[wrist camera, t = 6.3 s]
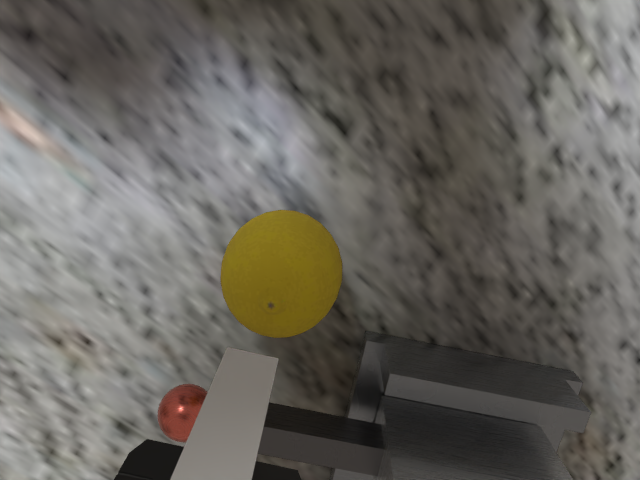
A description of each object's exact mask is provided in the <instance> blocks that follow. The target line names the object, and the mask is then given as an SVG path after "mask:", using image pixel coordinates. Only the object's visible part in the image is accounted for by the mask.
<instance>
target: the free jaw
mask: <svg viewBox="0 0 640 480" xmlns="http://www.w3.org/2000/svg"><path fill="white" fill-rule="evenodd" d="M207 393H208V392H207V391H206V390H205V389H203V388H202V387H200V386H197V385H194V384H183V385H179V386H177V387H175V388H173V389H171V390H170V391H169V392H168V393H167V394H166V395H165V396H164V397H163V399H162V401H161V403H160V405H159V408H158V422H159V426H160V428H161V430H162V431H163V433H164V434H165V435H166V436H167V437H169V438H170V439H172V440H174V441H178V442H187V439H188V437H189V435H190V432H191V430H192V428H193V425H194V423H195V421H196V418H197V416H198V414H199V411H200V409H201V407H202V404H203V402H204V400H205V397H206V395H207ZM257 454H263V455H268V456H273V457H278V458H284V459H289V460H294V461H299V462H305V463H310V464H315V465H320V466H326V467H331V468H336V469H341V470H347V471H352V472H357V473H362V474H368V475H373V480H573V479H572V477H571V476H570V474H569V472H568V471H567V469H566V467H565V466H564V464H563V462H562V461H561V459H560V457H559V456H558V454H557V453H556V451H555V449H554V448H553V446H552V444H551V443H550V441H549V439H548V438H547V436H546V434H545V433H544V431H543V429H542V428H541V426H537V425H532V424H527V423H522V422H516V421H511V420H506V419H501V418H496V417H491V416H485V415H480V414H475V413H470V412H465V411H460V410H454V409H449V408H444V407H439V406H434V405H428V404H423V403H418V402H413V401H408V400H403V399H397V398H392V397H387V396H382V397H381V401H380V404H379V408H378V412H377V416H376V420H375V423H373V422H367V421H362V420H357V419H352V418H347V417H341V416H336V415H331V414H326V413H321V412H315V411H310V410H305V409H300V408H295V407H289V406H284V405H279V404H274V403H269V404H268V409H267V413H266V418H265V422H264V427H263V431H262V436H261V440H260V445H259V449H258V453H257Z"/></svg>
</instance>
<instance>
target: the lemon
mask: <svg viewBox="0 0 640 480" xmlns="http://www.w3.org/2000/svg"><path fill="white" fill-rule="evenodd" d="M341 282H342V261H341V257H340V253H339V249H338V246H337V244H336V243H335V241H334V239H333V237H332V235H331V234H330V233H329V232H328V231H327V229H326V228H325V227H324V226H323V225H322V224H321V223H320V222H318V221H316V220H315V219H313V218H312V217H310V216H309V215H306V214H303V213H299V212H296V211H288V210H278V211H272V212H266V213H264V214H262V215H259V216H257V217H255V218H253V219H251V220H250V221H249V222H247V223H246V224H245V225H244V226H243V227H241V228H240V229H239V230H238V231H237V233H236V234H235V235H234V237H233V238H232V240H231V241H230V242H229V244H228V246H227V249H226V252H225V255H224V257H223V260H222V268H221V286H222V291H223V296H224V299H225V301H226V303H227V305H228V308H229V310H230V311H231V313H232V314H233V315H234V316H235V317H236V319H237V320H238V321H239V322H240V323H241V324H243V325H244V326H245V327H246V328H248V329H249V330H251V331H253V332H256V333H258V334H260V335H263V336H268V337H273V338H282V337H291V336H294V335H298V334H301V333H303V332H305V331H307V330H309V329H310V328H312V327H314V326H315V325H316V324H317V323H318V322H320V321H321V320H322V319H323V318H324V317H325V316H326V315H327V314H328V312H329V310H330V309H331V307H332V305H333V304H334V302H335V301H336V299H337V296H338V293H339V289H340V286H341Z"/></svg>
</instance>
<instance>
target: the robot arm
mask: <svg viewBox="0 0 640 480" xmlns="http://www.w3.org/2000/svg"><path fill="white" fill-rule="evenodd" d="M278 360H279V358H275V357H270V356H266V355H261V354H257V353H252V352H248V351H243V350H239V349H234V348H230V347H227V349H226V351H225V353H224V356H223V358H222V360H221V363H220V365H219V367H218V370H217V372H216V374H215V377H214V379H213V381H212V384H211V386H210V388H209V390H208V393H207V395H206V397H205V400H204V402H203V404H202V407H201V409H200V411H199V414H198V416H197V418H196V421H195V423H194V425H193V428H192V430H191V432H190V435H189V437H188V439H187V442H186V444H185V446H184V447H181V446H176V445H172V444H167V443H163V442H158V441H153V440H149V439H147V440H145V441H144V442H143V443H142V444H140V445H139V446H138V447H136V448H135V449H134V450H132V451H131V452H130V453H129V454H128V456H127V458H126V460H125V461H124V463H123V465H122V467H121V468H120V470H119V473H118V475H116V477H115V479H114V480H301V478H300V475H299V473H298V470H294V469H289V468H285V467H280V466H275V465H271V464H266V463H262V462H257V461H256V458H257V453H258V449H259V445H260V440H261V436H262V431H263V427H264V422H265V418H266V413H267V409H268V404H269V400H270V395H271V391H272V386H273V382H274V377H275V373H276V369H277V364H278Z"/></svg>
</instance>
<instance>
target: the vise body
mask: <svg viewBox="0 0 640 480" xmlns="http://www.w3.org/2000/svg"><path fill="white" fill-rule="evenodd" d="M582 384H583V382H582V381H581V380H580V379H579V378H578V377H577V375H576V374H575V373H574V372H573V371H568V370H563V369H558V368H553V367H548V366H543V365H538V364H532V363H527V362H522V361H517V360H512V359H507V358H502V357H497V356H491V355H486V354H481V353H476V352H471V351H466V350H461V349H456V348H451V347H445V346H440V345H435V344H430V343H425V342H420V341H415V340H410V339H404V338H399V337H394V336H389V335H384V334H379V333H374V332H369V331H365V336H364V340H363V344H362V348H361V352H360V356H359V360H358V365H357V369H356V373H355V377H354V381H353V385H352V389H351V393H350V398H349V402H348V406H347V410H346V414H345V417H347V418H352V419H357V420H362V421H367V422H373V423H375V420H376V416H377V412H378V408H379V404H380V401H381V397H382V396H387V397H392V398H397V399H403V400H408V401H413V402H418V403H423V404H428V405H434V406H439V407H444V408H449V409H454V410H460V411H465V412H470V413H475V414H480V415H485V416H491V417H496V418H501V419H506V420H511V421H516V422H522V423H527V424H532V425H537V426H541V428H542V429H543V431H544V433H545V434H546V436H547V438H548V439H549V441H550V443H551V444H552V446H553V448H554V449H555V451H556V452H557V449H558V446H559V444H560V441H561V439H562V436H563V433H564V431H565V430H569V431H574V432H579V433H583V432H584V430H585V427H586V425H587V422H588V420H589V417H590V415H591V412H590V410H589V409H588V408H587V407H586V405H585V404H584V403H583V401H582V400H581V399H580V398H579V396H578V395H579V392H580V389H581V387H582ZM330 480H373V475H368V474H362V473H357V472H352V471H347V470H341V469H336V468H332V472H331V476H330Z"/></svg>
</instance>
